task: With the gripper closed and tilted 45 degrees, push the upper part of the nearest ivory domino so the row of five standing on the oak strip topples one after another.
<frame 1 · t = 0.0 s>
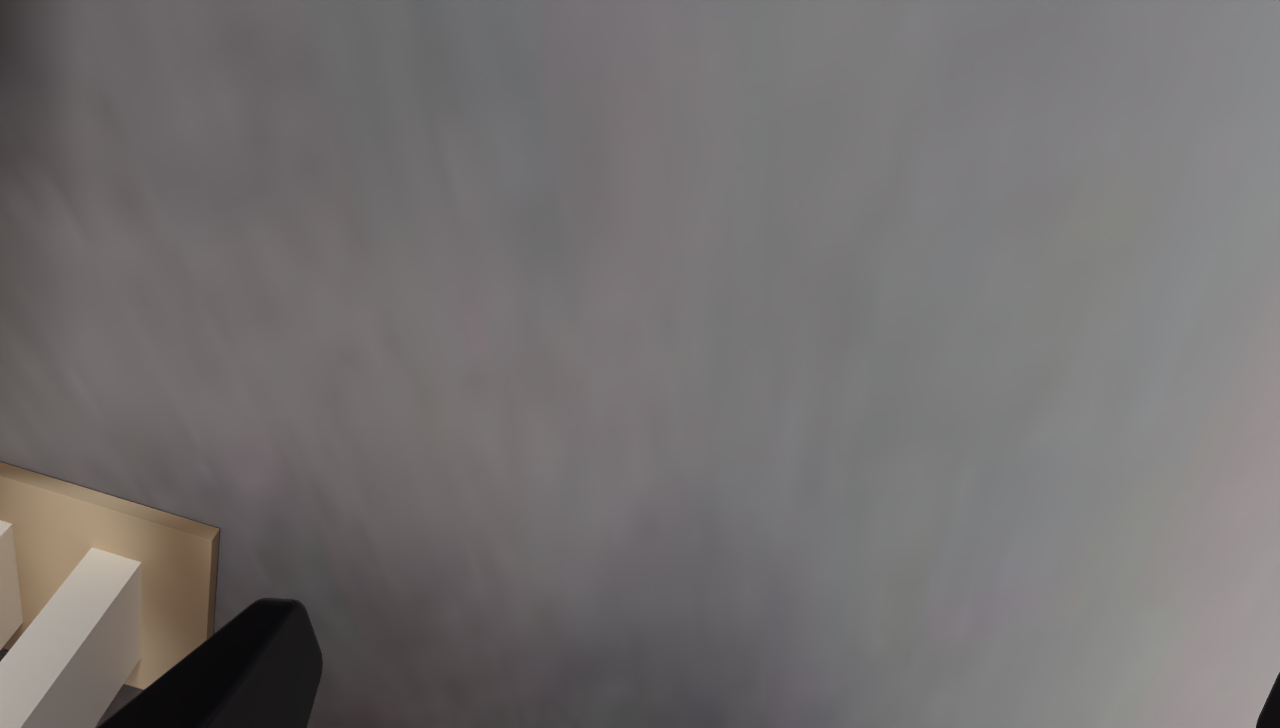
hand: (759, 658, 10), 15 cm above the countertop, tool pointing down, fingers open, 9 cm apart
domino 1: (117, 604, 34), resting on oak strip
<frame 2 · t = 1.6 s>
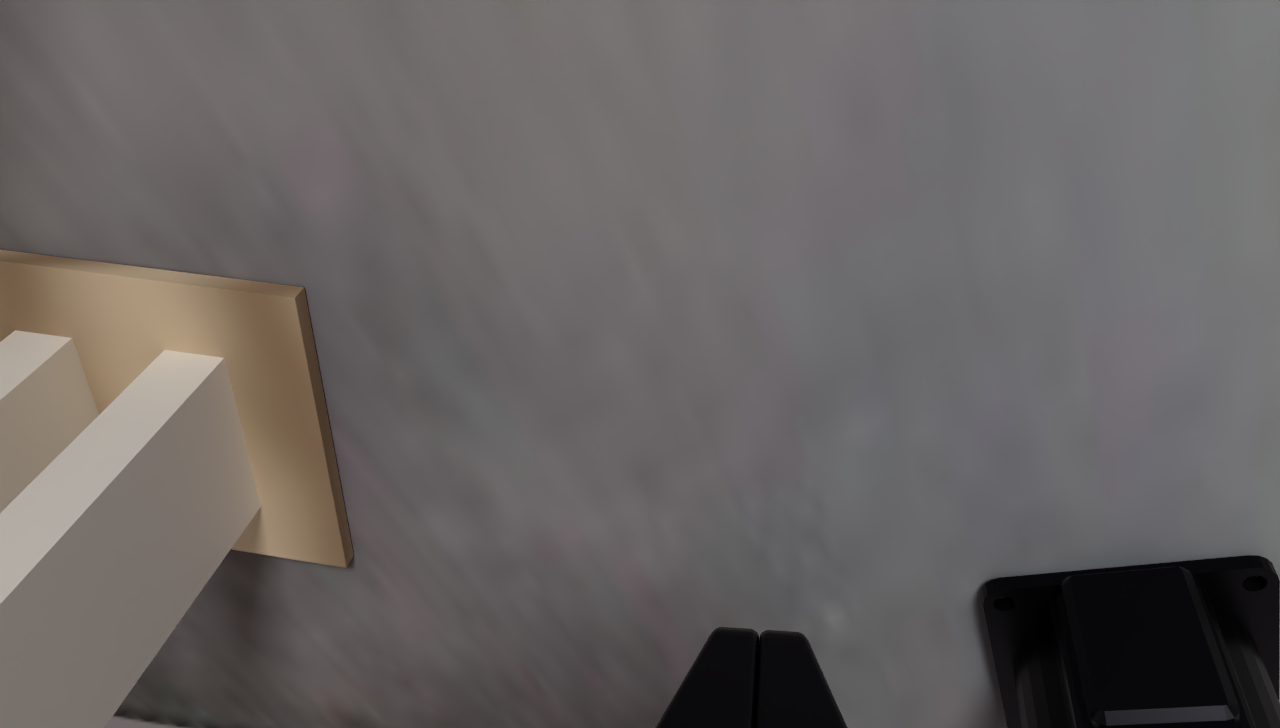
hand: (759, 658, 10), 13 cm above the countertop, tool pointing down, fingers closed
domino 2: (72, 411, 27), resting on oak strip
domino 1: (215, 431, 27), resting on oak strip
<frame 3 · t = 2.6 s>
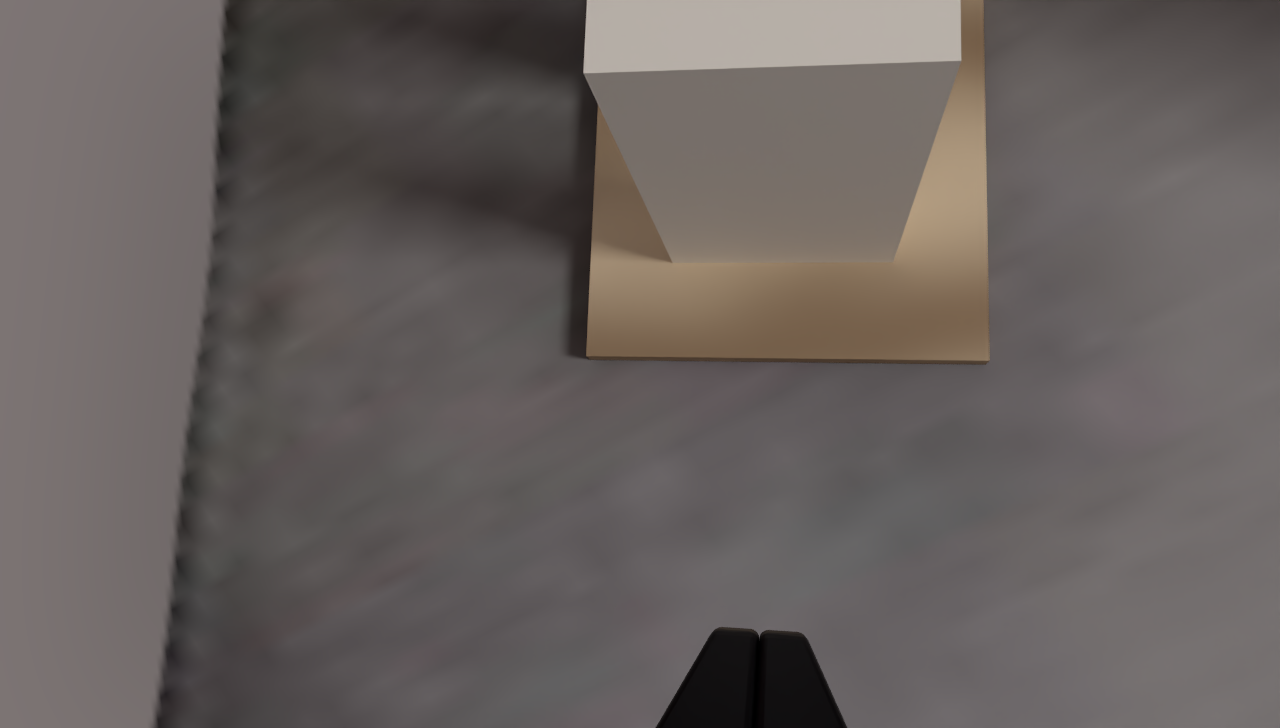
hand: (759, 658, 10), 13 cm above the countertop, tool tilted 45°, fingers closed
domino 1: (781, 228, 23), resting on oak strip
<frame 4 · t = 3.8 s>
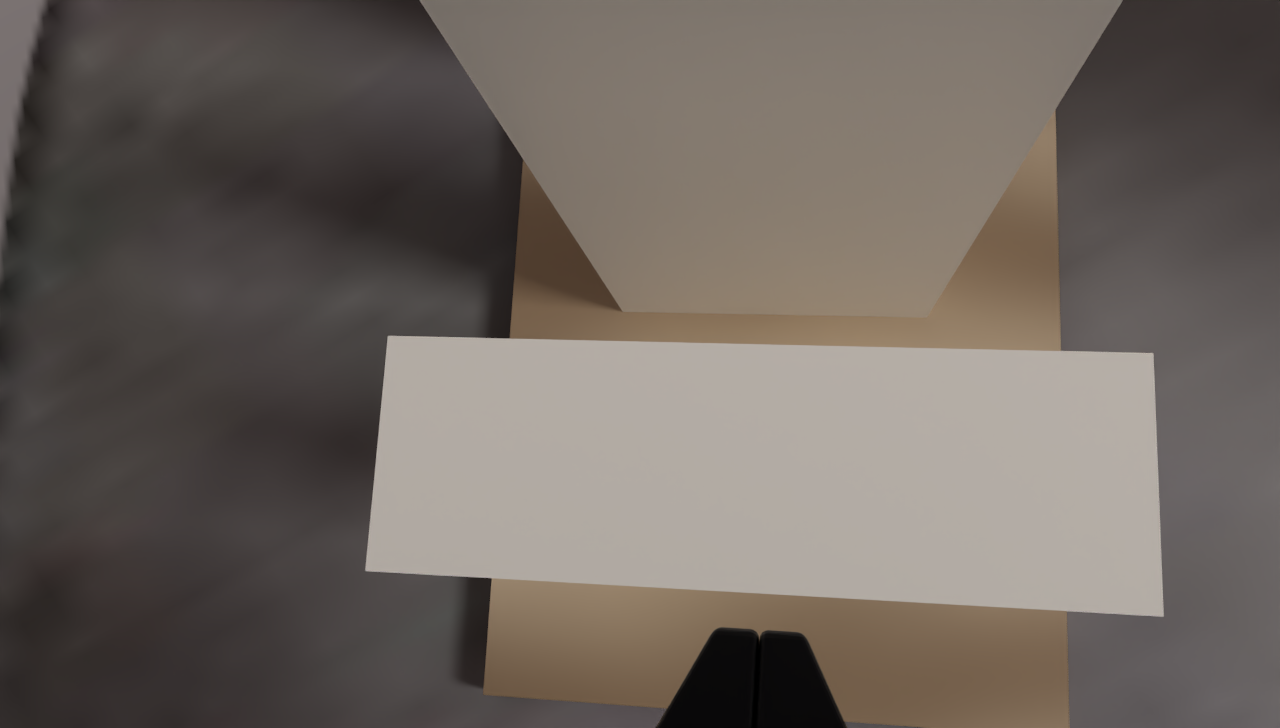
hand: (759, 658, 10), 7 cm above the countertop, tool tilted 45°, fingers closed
domino 2: (772, 268, 17), resting on oak strip
domino 1: (766, 518, 16), resting on oak strip
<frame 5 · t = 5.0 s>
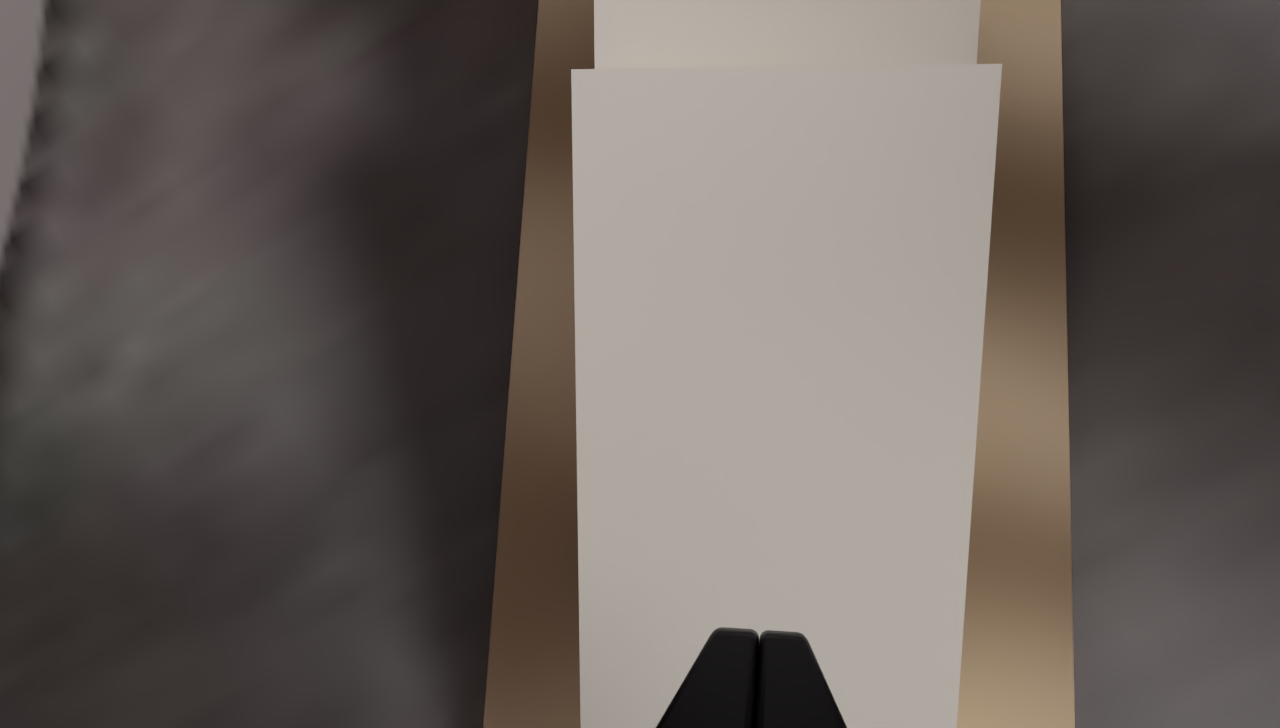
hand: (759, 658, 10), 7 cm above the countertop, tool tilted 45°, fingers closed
domino 2: (770, 505, 16), point 1 cm above the countertop, tilted 68°, touching domino 1, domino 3, oak strip
oak strip: (785, 167, 18), on the countertop
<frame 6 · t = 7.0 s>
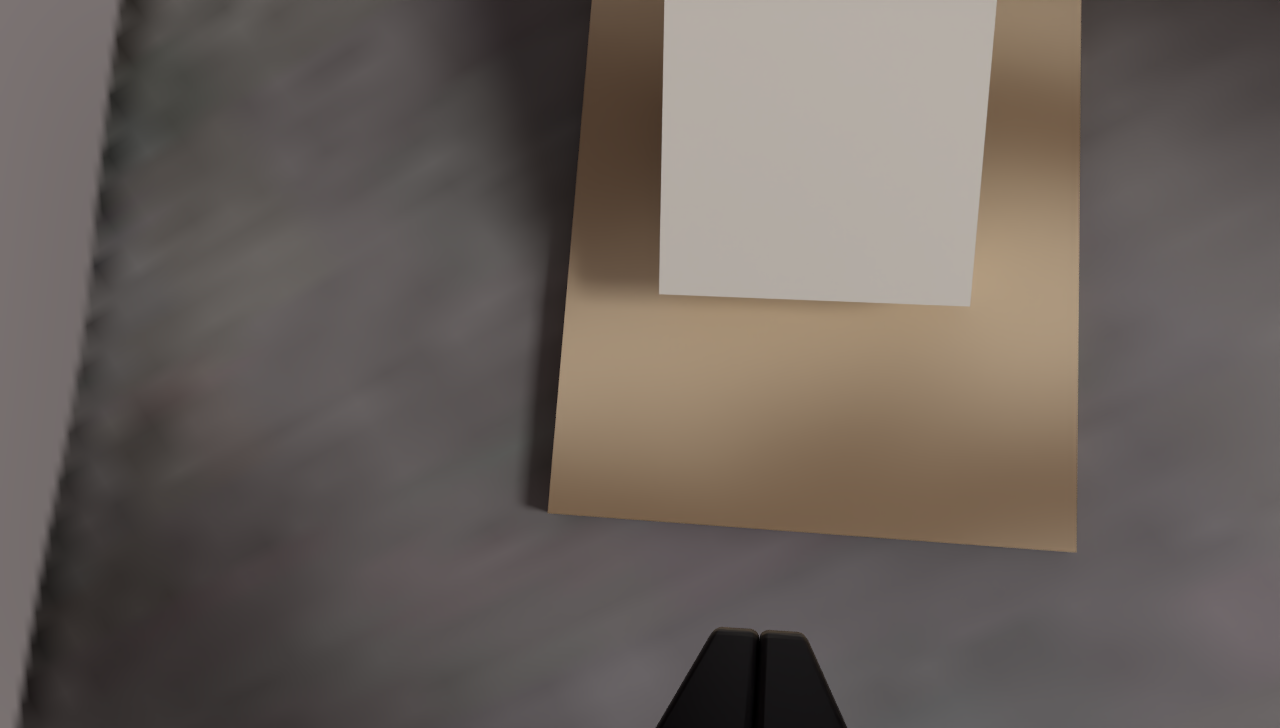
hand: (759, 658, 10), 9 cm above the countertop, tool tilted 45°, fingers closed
domino 1: (810, 292, 17), point 1 cm above the countertop, tilted 68°, touching domino 2
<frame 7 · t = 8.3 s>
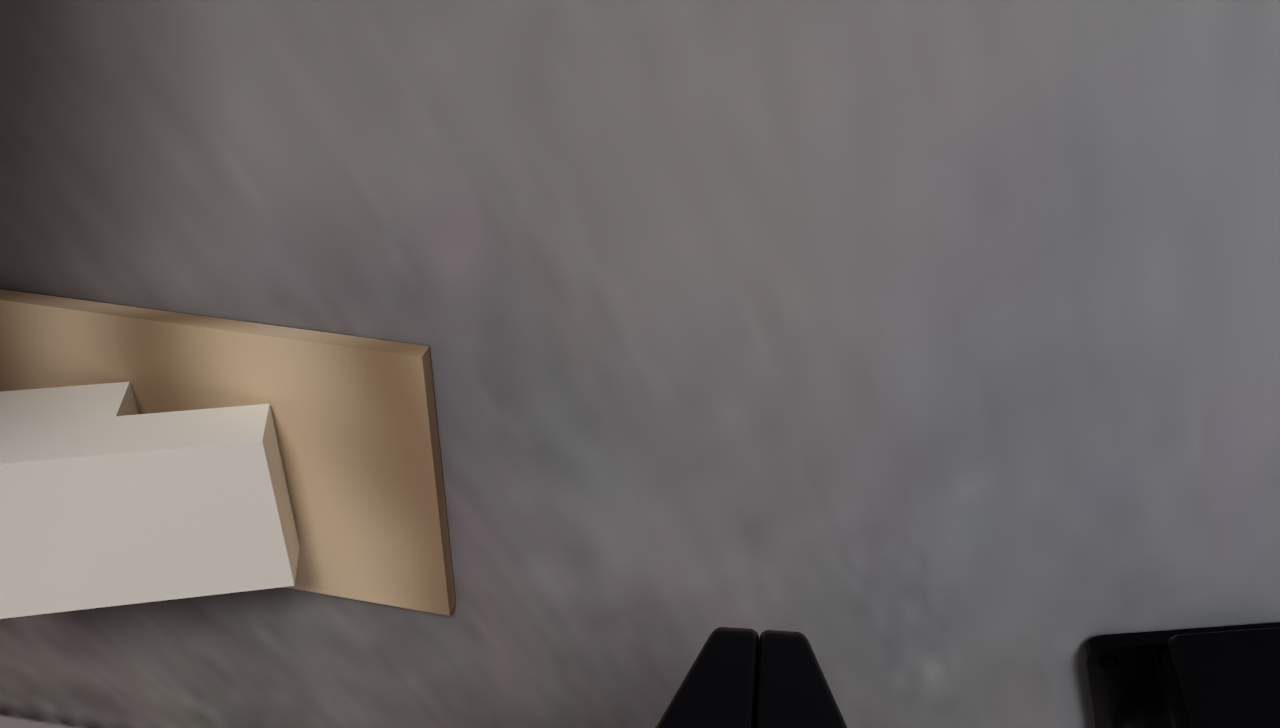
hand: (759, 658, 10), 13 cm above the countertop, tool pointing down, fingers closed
domino 2: (145, 473, 28), point 1 cm above the countertop, tilted 68°, touching domino 1, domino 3, oak strip
domino 1: (282, 497, 27), point 1 cm above the countertop, tilted 68°, touching domino 2
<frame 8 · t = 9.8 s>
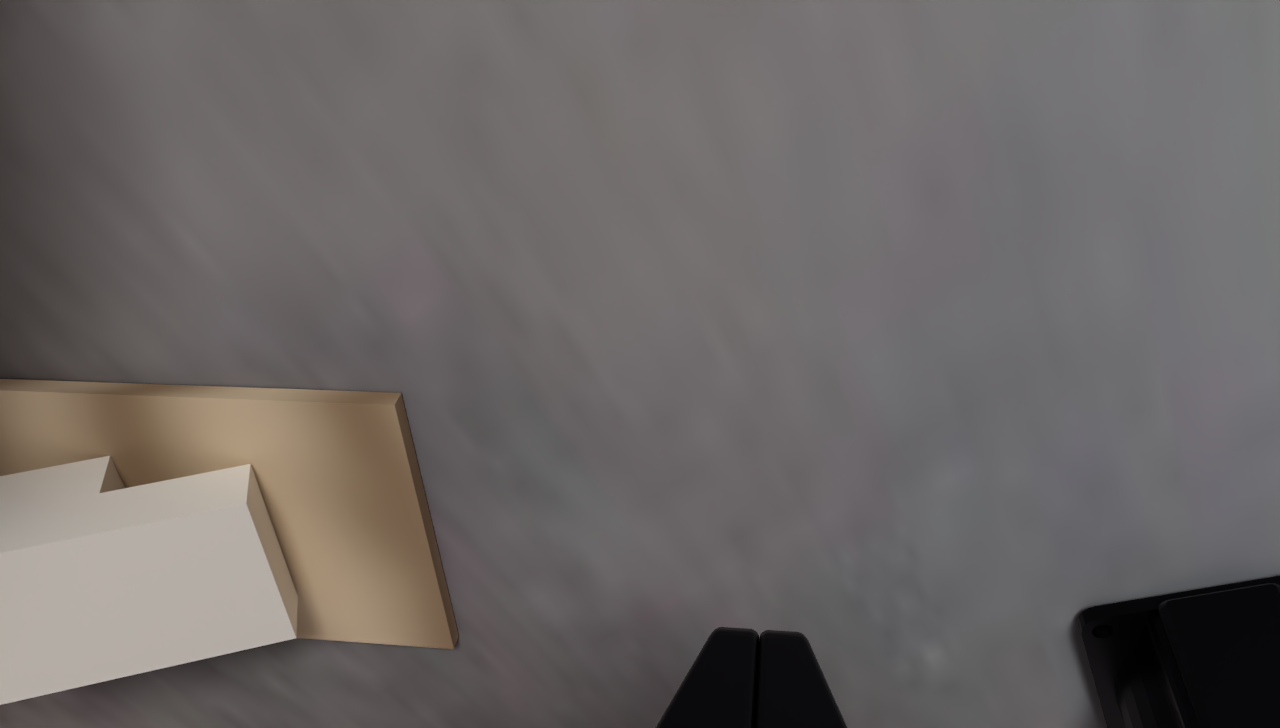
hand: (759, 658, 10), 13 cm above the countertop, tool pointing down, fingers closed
domino 2: (137, 543, 28), point 1 cm above the countertop, tilted 68°, touching domino 1, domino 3, oak strip
domino 1: (274, 553, 27), point 1 cm above the countertop, tilted 68°, touching domino 2
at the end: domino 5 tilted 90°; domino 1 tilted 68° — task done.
